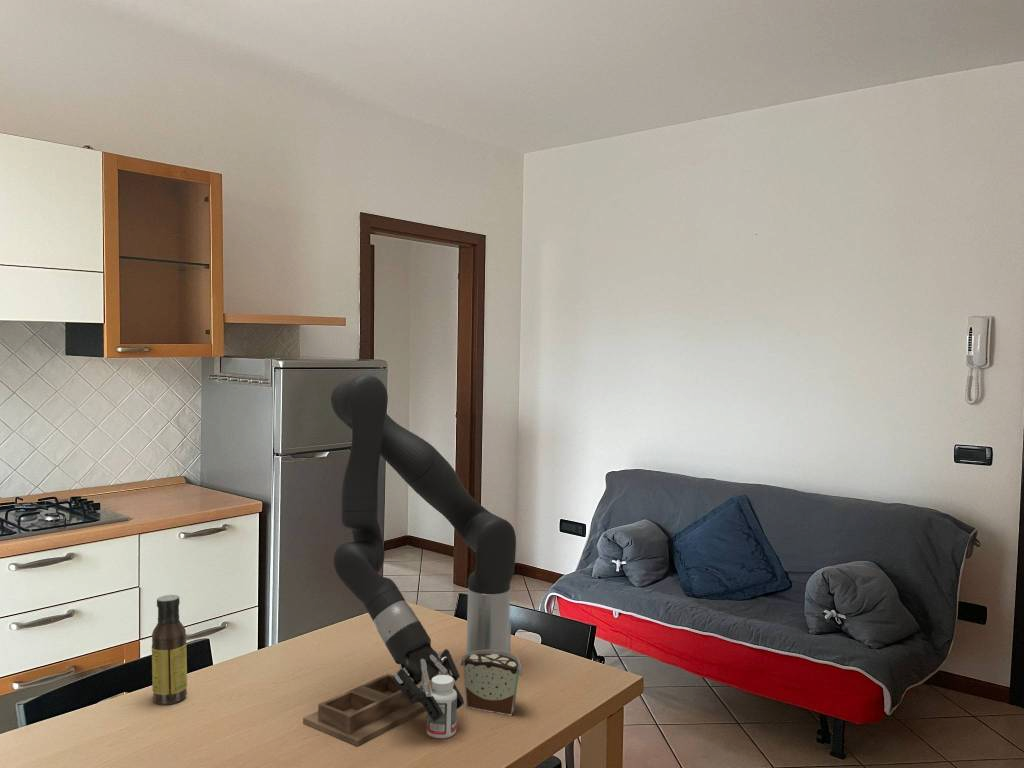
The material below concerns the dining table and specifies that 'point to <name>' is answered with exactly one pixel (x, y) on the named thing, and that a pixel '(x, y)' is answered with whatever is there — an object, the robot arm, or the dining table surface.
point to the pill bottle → (443, 707)
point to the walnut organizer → (364, 711)
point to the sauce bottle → (169, 653)
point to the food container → (491, 680)
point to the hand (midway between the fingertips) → (449, 711)
